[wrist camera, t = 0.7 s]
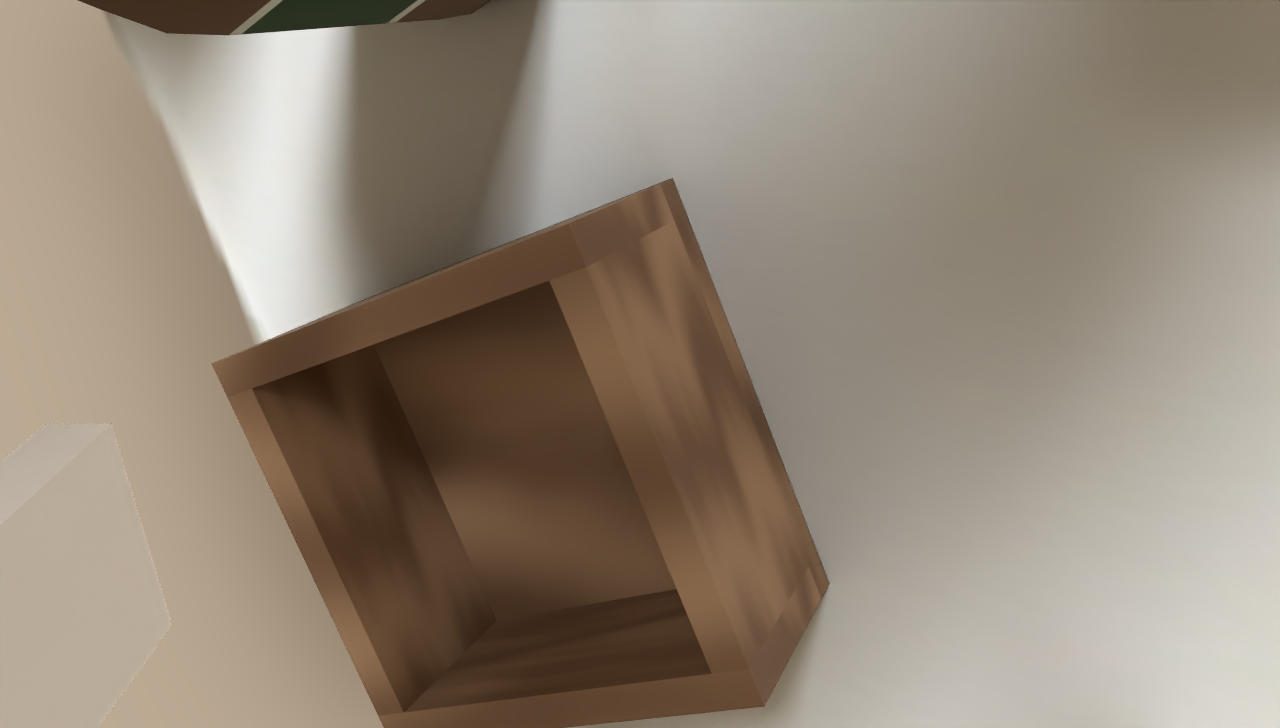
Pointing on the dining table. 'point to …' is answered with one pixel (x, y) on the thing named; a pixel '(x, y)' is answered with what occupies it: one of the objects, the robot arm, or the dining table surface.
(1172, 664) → the dining table surface
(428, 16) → the beer bottle
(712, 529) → the walnut box
